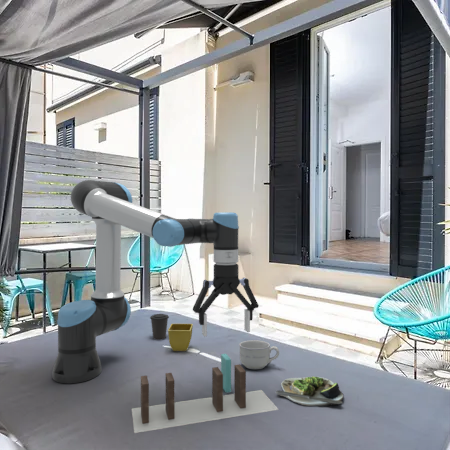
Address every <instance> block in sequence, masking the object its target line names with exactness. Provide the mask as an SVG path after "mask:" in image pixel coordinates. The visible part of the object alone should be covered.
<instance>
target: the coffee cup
mask: <svg viewBox="0 0 450 450" xmlns="http://www.w3.org/2000/svg"><path fill="white" fill-rule="evenodd" d="M169 318H170V316H169V315H168V314H164V313H154V314H152V315H150V317H149V319H150V323H151V329H152V331H151V332H152V338H153V340H156V341H160V340H165V339H166V337H167V332H168V329H167V328H168V319H169Z"/></svg>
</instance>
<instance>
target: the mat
mask: <svg viewBox="0 0 450 450" xmlns="http://www.w3.org/2000/svg"><path fill="white" fill-rule="evenodd" d="M279 410H280V409H279V408H278V407H277V406H276V405H275V403H274V402H273V401H272V400H271V399H270V398H269V397H268V396H267V394H266V393H265V392H264V391H263V389H258V390H252V391H246V408H241V409H240V407H239V406H238V405H237V403H236V402H235V400H234V393H230V394H225V395H224V394H223V411H222V412H217V411H216V409H215V407H214V405H213V404H212V396H210V397H204V398H203V397H202V398H197V399H195V398H194V399H189V400H188V399H187V400H183V401H175V419H170V420H168V417H167V413H166V403H160V404H155V405H149V423H145V424H142V418H141V406H140V407H135V408H134V407H133V408H131V414H132V415H131V416H132V425H133V433H134V434H138V433H143V432H144V433H145V432H150V431H158V430H162V429H168V428H175V427H181V426H189V425H193V424H200V423H207V422H211V421H218V420H224V419H230V418H235V417H236V418H237V417H242V416H249V415H254V414H255V415H256V414H261V413H268V412H273V411H279Z"/></svg>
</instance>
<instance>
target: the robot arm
mask: <svg viewBox="0 0 450 450" xmlns="http://www.w3.org/2000/svg"><path fill="white" fill-rule="evenodd" d="M70 201H71V202H70V203H71V205H72V207H73V208H74V209H75V210H76V211H77V212H78V213H81V214H83V215H86V216H87V217H90V218H91V220H92V221H93V223H95V225H96V228H95V229H96V231H95V233H96V234H95V290H94V291H93V292H92V293H91V295H90V299H80V300H74V301H71V302H68V303H66V304H64V305H63V306H61V307H60V308H59V310H58V313H57V321H56V324H57V342H58V343H57V346H58V347H57V348H58V350H57V356H56V358H55V361H54V365H53V368H52V373H51V374H52V375H51V376H52V379H53V381H54V382H56V383H60V384H77V383H84V382H86V381H90V380H92V379H95V378H96V377H98V376H99V375H100V374H101V373H102V362H101V359H100V357H99V354H98V351H97V348H96V347H97V346H96V345H97V343H96V341H97V340H96V337H99V336H101V335H104V334H108V333H110V332H113V331H117V330H119V329H120V328H122V327H123V326H125V325H126V324H127V323H128V322H129V320H130V317H131V312H132V311H131V310H132V309H131V305H130V303H129V300H128V299H127V298H126V297H125V292H123V291H122V290H121V266H122V265H121V262H122V261H121V260H122V259H121V256H122V255H121V254H122V253H121V250H122V246H121V244H122V227H125V228H127V229H129V230H132V231H134V232H136V233H140V234H141V235H144V236H147V237H150V238H152V239H154V242H156V243H157V244H158V246H161V247H170V248H171V247H175V246H184V245H189V244H190V245H191V244H212V245H213V262H214V264H213V279H212V280H208V279H203V281H202V282H203V283H202V288H201V290H200V291H199V294H198V297H197V298H196V301H195V302H194V305H193V307H192V312H194V313H195V314H198V324H199V325H200V326H201V335H202V336H203V337H204V338H205V337H207V336H208V314H207V313H206V312H207V311H208V309H209V308H210V306H211V305H212V304H213V303H214V301H215V300H216V299H217V298H218V297H219V296H220V295H223V296H225V295H233V294H234V295H235V296H236V297H237V298H238V299H239V300H240V301H241V303H242V304H243V306H245V307H246V308H244V311H243V312H244V315H243V316H244V325H243V327H244V331H245V332H246V333H250V332H251V321H253V315H254V314H253V312H254V311H255V309H258V308H259V303H258V302H257V298H256V297H255V295H254V293H253V291H252V289H251V287H250V283H249V279H248V278H246V277H242V278H239V264H238V263H239V229H240V226H239V215H238V214H237V213H236V212H227V211H225V212H214V213H213V215H212V216H213V217H212V218H185V219H184V218H174V217H172V216H169V215H165V214H163V213H160V212H158V211H155V210H152V209H149V208H146V207H144V206H141V205H139V204H136V203H133V196H132V194H131V191H130V189H128V188H127V187H126V186H125V185H124V184H122V183H118V182H116V181H115V182H113V181H101V180H94V179H86V180H82V181H79V182H78V183H77V184H75V186H74V187H73V188H72V190H71V193H70ZM239 285H241V286H242V287H243V290H244V291H245V294H246V295H247V297H248V299H249V301H250V302H249V301H248V300H247V299H246V298H245V296H244V295H243V293H242V292H241V291H240V290H239V289H238V287H239ZM212 286H213V288H214V289H213V290H212V291H211V293H210V294H209V296H208V297H207V298H206V296H207V293H208V292H209V289H210V288H211V287H212ZM205 298H206V300H205ZM204 300H205V301H204Z"/></svg>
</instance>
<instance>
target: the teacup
mask: <svg viewBox="0 0 450 450" xmlns="http://www.w3.org/2000/svg"><path fill="white" fill-rule="evenodd" d="M273 350H274V351H276V354H275V355H274V356H272V357H270V356H271V355H270V354H271V352H272V351H273ZM279 356H280V349H279V347H277V346H275V345H274V346H271V344H270V343H269V342H268V341H264V340H257V339H256V340H254V339H253V340H252V339H251V340H244V341H241V342H239V360H240V363H241V364H242V366H244V367H245V368H247V369H249V370H262V369H263V368H265V367H266V366H267V365H268V364H270V363H272V361H274V360H276V359H277V358H278V357H279Z"/></svg>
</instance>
